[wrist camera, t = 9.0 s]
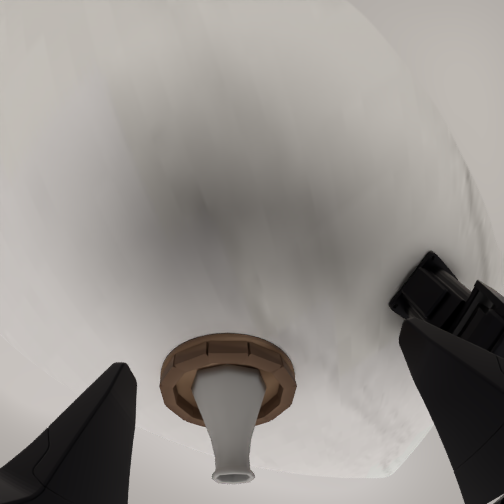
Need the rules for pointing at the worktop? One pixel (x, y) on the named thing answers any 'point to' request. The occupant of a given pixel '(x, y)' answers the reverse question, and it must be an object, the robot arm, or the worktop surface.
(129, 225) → the worktop surface
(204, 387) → the flask
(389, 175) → the worktop surface
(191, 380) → the round wooden tray
